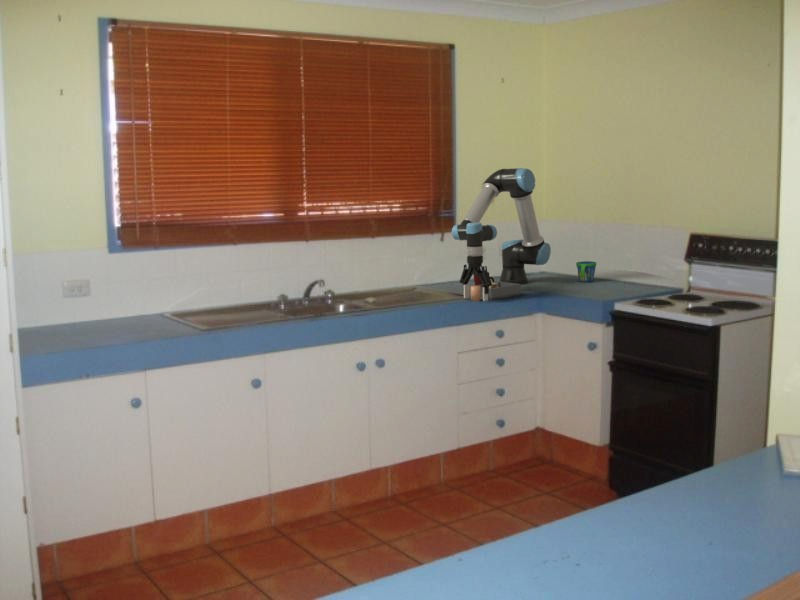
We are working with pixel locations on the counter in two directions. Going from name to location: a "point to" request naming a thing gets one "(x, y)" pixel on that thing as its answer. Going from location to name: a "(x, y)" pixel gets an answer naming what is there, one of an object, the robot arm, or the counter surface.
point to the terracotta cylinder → (476, 293)
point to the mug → (478, 281)
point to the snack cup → (586, 271)
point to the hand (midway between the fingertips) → (475, 299)
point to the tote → (502, 290)
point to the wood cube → (494, 285)
